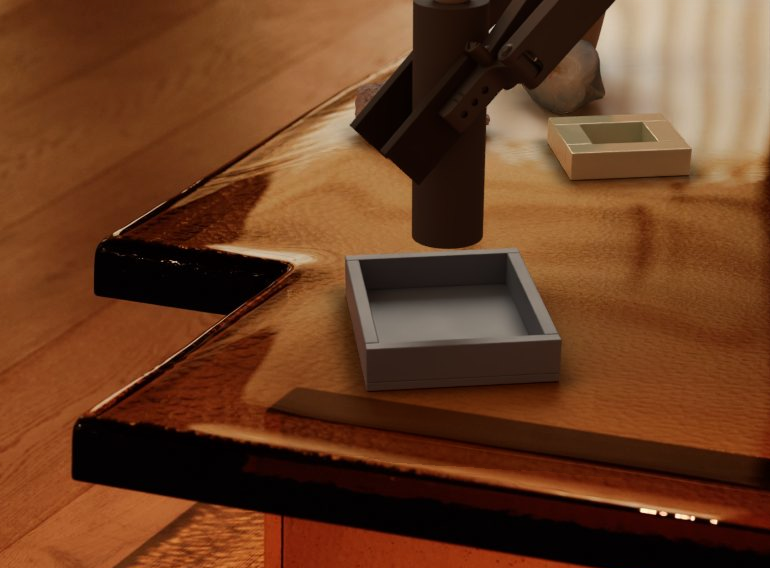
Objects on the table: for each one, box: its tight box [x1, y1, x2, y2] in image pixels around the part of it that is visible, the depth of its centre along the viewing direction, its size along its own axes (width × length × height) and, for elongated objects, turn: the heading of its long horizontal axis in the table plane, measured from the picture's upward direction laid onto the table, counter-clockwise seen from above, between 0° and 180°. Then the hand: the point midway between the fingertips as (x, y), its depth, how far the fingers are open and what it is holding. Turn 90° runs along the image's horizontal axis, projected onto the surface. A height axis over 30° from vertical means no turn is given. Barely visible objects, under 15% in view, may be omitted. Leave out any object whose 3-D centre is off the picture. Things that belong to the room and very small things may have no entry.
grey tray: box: [344, 247, 563, 392], centre depth 92 cm, size 14×11×2 cm
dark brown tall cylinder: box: [411, 0, 490, 250], centre depth 86 cm, size 4×4×15 cm
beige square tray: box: [546, 112, 693, 181], centre depth 119 cm, size 9×9×2 cm
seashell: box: [521, 40, 606, 115], centre depth 131 cm, size 6×9×10 cm
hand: (384, 154), depth 86 cm, fingers closed on dark brown tall cylinder, 4 cm apart
